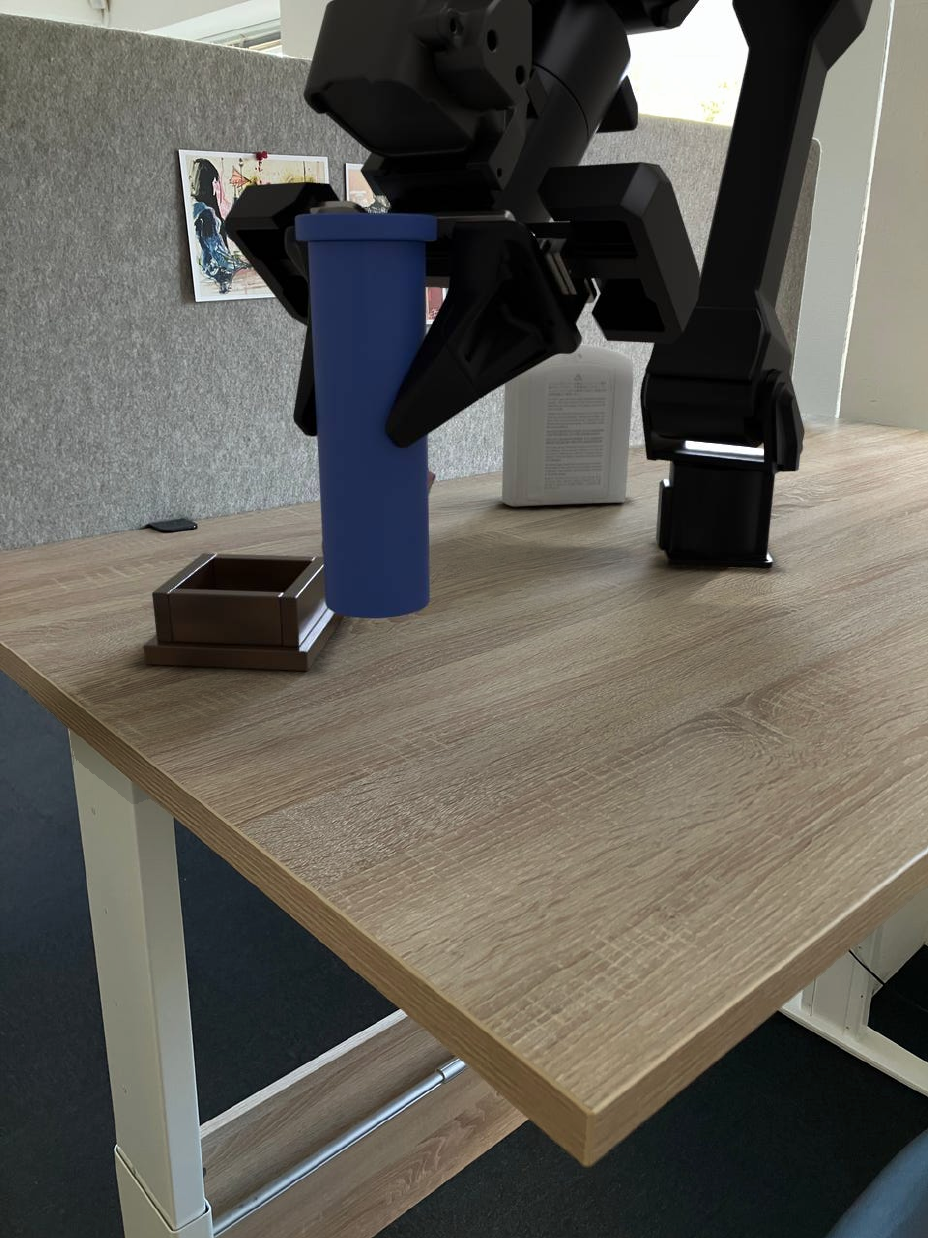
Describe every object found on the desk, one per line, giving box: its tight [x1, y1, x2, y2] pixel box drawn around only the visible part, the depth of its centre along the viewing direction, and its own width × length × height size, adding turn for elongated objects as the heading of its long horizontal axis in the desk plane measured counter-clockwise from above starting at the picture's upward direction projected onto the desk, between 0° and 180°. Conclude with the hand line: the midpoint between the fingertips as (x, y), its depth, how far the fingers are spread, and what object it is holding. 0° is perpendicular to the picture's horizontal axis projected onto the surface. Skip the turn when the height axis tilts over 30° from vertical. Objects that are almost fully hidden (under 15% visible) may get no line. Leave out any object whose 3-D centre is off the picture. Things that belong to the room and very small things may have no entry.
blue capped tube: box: [295, 212, 437, 620], centre depth 37 cm, size 5×5×14 cm
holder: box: [142, 552, 345, 672], centre depth 52 cm, size 8×8×4 cm
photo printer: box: [501, 343, 634, 508], centre depth 80 cm, size 10×4×12 cm, turn 103°
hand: (346, 434), depth 36 cm, fingers closed on blue capped tube, 4 cm apart
